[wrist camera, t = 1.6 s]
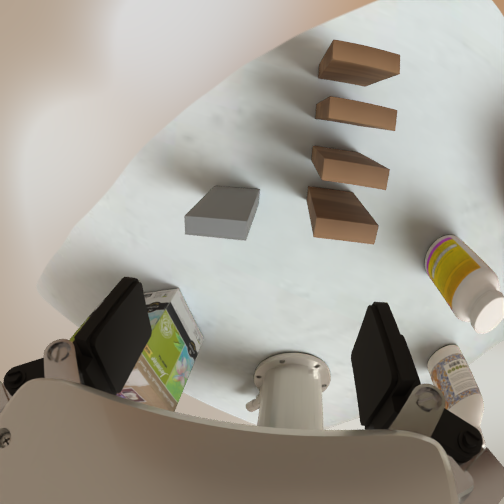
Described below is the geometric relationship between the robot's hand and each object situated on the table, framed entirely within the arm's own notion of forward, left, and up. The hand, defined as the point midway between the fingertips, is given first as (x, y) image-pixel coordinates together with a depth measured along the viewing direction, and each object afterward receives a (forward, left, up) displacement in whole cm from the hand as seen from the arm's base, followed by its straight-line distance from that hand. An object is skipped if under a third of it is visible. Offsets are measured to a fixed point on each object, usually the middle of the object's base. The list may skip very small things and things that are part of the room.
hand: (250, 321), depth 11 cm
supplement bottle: (+9, -22, -22) cm, 32 cm away
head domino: (-3, +3, -22) cm, 22 cm away
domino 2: (+11, 0, -22) cm, 24 cm away
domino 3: (+7, -2, -22) cm, 23 cm away
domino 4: (+3, -5, -22) cm, 22 cm away
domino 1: (+14, +3, -22) cm, 26 cm away
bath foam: (-1, -41, -22) cm, 47 cm away
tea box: (-27, +2, -22) cm, 35 cm away
